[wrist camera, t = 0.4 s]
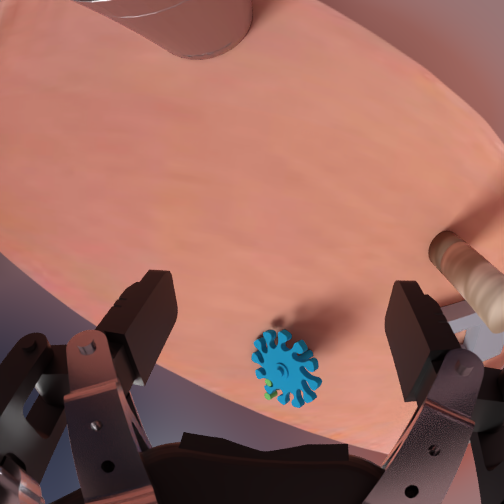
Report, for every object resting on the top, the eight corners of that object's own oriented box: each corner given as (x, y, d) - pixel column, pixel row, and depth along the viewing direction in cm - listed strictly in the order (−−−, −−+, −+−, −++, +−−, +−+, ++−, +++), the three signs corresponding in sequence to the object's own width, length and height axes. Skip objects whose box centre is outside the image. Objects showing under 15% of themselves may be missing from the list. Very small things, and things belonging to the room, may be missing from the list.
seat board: (404, 317, 34) (413, 332, 32) (507, 286, 32) (518, 296, 30) (397, 374, 39) (403, 389, 36) (492, 342, 37) (500, 353, 34)
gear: (265, 314, 33) (330, 382, 28) (300, 299, 37) (358, 357, 32) (236, 369, 39) (285, 426, 33) (267, 353, 43) (314, 403, 37)
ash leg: (429, 234, 30) (495, 297, 18) (459, 228, 29) (529, 285, 17) (427, 269, 32) (484, 339, 20) (457, 262, 31) (517, 325, 19)
